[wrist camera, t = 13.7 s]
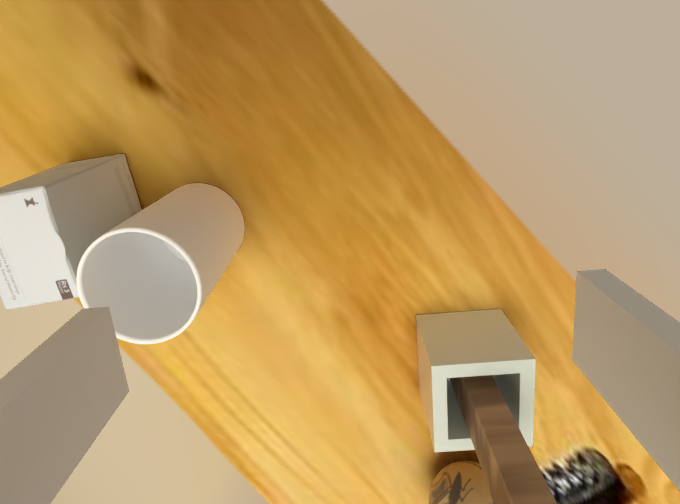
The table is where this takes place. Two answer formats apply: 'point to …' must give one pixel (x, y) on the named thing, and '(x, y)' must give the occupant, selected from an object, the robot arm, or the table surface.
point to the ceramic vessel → (460, 485)
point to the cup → (162, 262)
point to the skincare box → (59, 226)
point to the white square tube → (471, 370)
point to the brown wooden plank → (499, 444)
